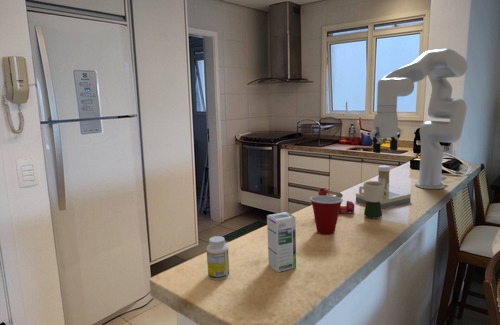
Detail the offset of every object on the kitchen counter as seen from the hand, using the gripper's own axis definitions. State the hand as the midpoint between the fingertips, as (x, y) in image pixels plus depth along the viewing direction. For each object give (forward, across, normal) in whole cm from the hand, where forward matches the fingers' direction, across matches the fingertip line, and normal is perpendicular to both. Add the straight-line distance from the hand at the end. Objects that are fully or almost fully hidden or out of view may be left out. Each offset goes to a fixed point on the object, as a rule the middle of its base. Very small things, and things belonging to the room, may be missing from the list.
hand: (385, 151), depth 147 cm
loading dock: (+22, 0, 0) cm, 22 cm away
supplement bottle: (+21, +86, +23) cm, 91 cm away
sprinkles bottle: (+20, 0, 0) cm, 20 cm away
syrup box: (+21, +68, +27) cm, 76 cm away
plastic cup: (+21, +42, +14) cm, 49 cm away
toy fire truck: (+22, +26, +1) cm, 34 cm away
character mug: (+22, +18, +12) cm, 31 cm away
